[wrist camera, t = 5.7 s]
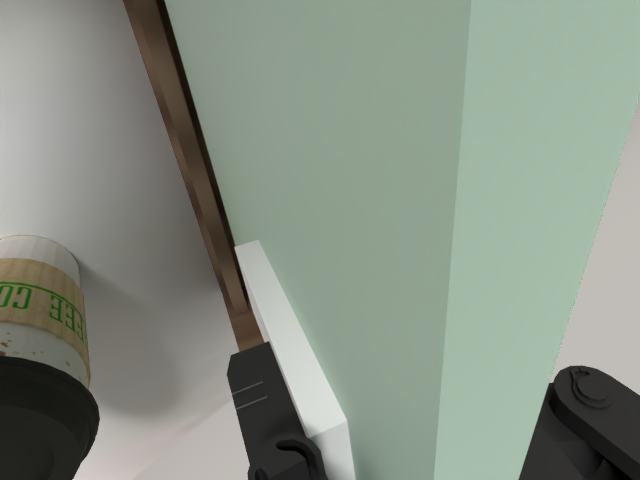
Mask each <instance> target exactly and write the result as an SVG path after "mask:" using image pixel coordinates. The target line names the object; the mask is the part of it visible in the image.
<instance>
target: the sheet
mask: <svg viewBox="0 0 640 480" xmlns="http://www.w3.org/2000/svg"><path fill="white" fill-rule="evenodd" d="M164 1H165V4H166V7H167V11H168V14H169V18H170V21H171V25H172V28H173V32H174V35H175V39H176V42H177V46H178V49H179V52H180V56H181V59H182V63H183V66H184V70H185V73H186V77H187V80H188V84H189V87H190V91H191V94H192V98H193V101H194V104H195V108H196V111H197V115H198V118H199V122H200V125H201V129H202V132H203V136H204V139H205V143H206V146H207V149H208V153H209V156H210V160H211V163H212V167H213V170H214V174H215V177H216V181H217V184H218V188H219V191H220V194H221V198H222V201H223V205H224V208H225V212H226V215H227V219H228V222H229V226H230V229H231V233H232V236H233V239H234V243H235V246H239V245H242V244H246V243H249V242H252V241H255V240H259V242H260V244H261V246H262V248H263V250H264V252H265V254H266V256H267V258H268V261H269V263H270V265H271V267H272V269H273V271H274V273H275V275H276V277H277V279H278V281H279V283H280V285H281V287H282V289H283V291H284V293H285V295H286V297H287V299H288V301H289V303H290V305H291V307H292V309H293V312H294V314H295V316H296V318H297V320H298V322H299V324H300V326H301V328H302V330H303V332H304V334H305V336H306V338H307V340H308V342H309V344H310V346H311V348H312V350H313V352H314V354H315V356H316V358H317V360H318V363H319V365H320V367H321V369H322V371H323V373H324V375H325V377H326V379H327V381H328V383H329V385H330V387H331V389H332V391H333V393H334V395H335V397H336V399H337V401H338V403H339V405H340V407H341V409H342V411H343V413H344V416H345V418H346V420H347V423H348V430H349V437H350V444H351V452H352V459H353V466H354V473H355V480H518V479H519V476H520V473H521V470H522V467H523V464H524V460H525V457H526V454H527V451H528V448H529V445H530V442H531V438H532V435H533V432H534V429H535V426H536V423H537V419H538V416H539V413H540V410H541V407H542V404H543V400H544V397H545V394H546V391H547V388H548V385H549V381H550V378H551V375H552V371H553V369H554V365H555V362H556V359H557V356H558V353H559V350H560V346H561V343H562V340H563V337H564V334H565V331H566V327H567V324H568V321H569V318H570V315H571V312H572V309H573V306H574V302H575V299H576V296H577V293H578V290H579V286H580V284H581V280H582V277H583V274H584V271H585V268H586V264H587V261H588V258H589V255H590V252H591V249H592V246H593V242H594V239H595V236H596V233H597V230H598V226H599V223H600V220H601V217H602V214H603V211H604V208H605V205H606V201H607V198H608V195H609V192H610V189H611V186H612V182H613V179H614V176H615V173H616V170H617V167H618V163H619V160H620V157H621V154H622V151H623V148H624V144H625V141H626V138H627V135H628V132H629V129H630V126H631V122H632V119H633V116H634V113H635V110H636V106H637V103H638V100H639V97H640V0H164Z"/></svg>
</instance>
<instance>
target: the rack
mask: <svg viewBox="0 0 640 480" xmlns="http://www.w3.org/2000/svg"><path fill="white" fill-rule="evenodd" d="M123 2H124V5H125V8H126V10H127V13H128V16H129V19H130V22H131V25H132V28H133V31H134V34H135V37H136V40H137V43H138V46H139V49H140V52H141V55H142V58H143V61H144V64H145V67H146V70H147V73H148V76H149V78H150V81H151V84H152V87H153V90H154V93H155V96H156V99H157V102H158V105H159V108H160V111H161V114H162V117H163V120H164V123H165V126H166V129H167V132H168V135H169V138H170V141H171V144H172V146H173V149H174V152H175V155H176V158H177V161H178V164H179V167H180V170H181V173H182V176H183V179H184V182H185V185H186V188H187V191H188V194H189V197H190V200H191V203H192V206H193V209H194V212H195V214H196V217H197V220H198V223H199V226H200V229H201V232H202V235H203V238H204V241H205V244H206V247H207V250H208V253H209V256H210V259H211V262H212V265H213V268H214V271H215V274H216V277H217V280H218V282H219V285H220V288H221V291H222V294H223V298H224V301H225V304H226V308H227V311H228V314H229V318H230V321H231V324H232V328H233V331H234V334H235V338H236V341H237V344H238V348H239V351H240V352H241V351H244V350H246V349H249V348H252V347H254V346H257V345H260V344H262V343H265V342H264V339H263V337H262V334H261V331H260V329H259V326H258V323H257V321H256V318H255V315H254V313H253V310H252V306H251V303H250V299H249V296H248V293H247V289H246V286H245V282H244V279H243V275H242V272H241V268H240V265H239V262H238V258H237V255H236V251H235V248H234V247H236V246H235V243H234V239H233V236H232V233H231V229H230V226H229V222H228V219H227V215H226V212H225V208H224V205H223V201H222V198H221V194H220V191H219V188H218V184H217V181H216V177H215V174H214V170H213V167H212V163H211V160H210V156H209V153H208V149H207V146H206V143H205V139H204V136H203V132H202V129H201V125H200V122H199V118H198V115H197V111H196V108H195V104H194V101H193V98H192V94H191V91H190V87H189V84H188V80H187V77H186V73H185V70H184V66H183V63H182V59H181V56H180V52H179V49H178V46H177V42H176V39H175V35H174V32H173V28H172V25H171V21H170V18H169V14H168V11H167V7H166V4H165V1H164V0H123Z"/></svg>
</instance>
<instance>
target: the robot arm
mask: <svg viewBox="0 0 640 480" xmlns="http://www.w3.org/2000/svg"><path fill="white" fill-rule="evenodd" d="M234 248H235V251H236V255H237V258H238V262H239V265H240V268H241V272H242V275H243V279H244V282H245V286H246V289H247V293H248V296H249V299H250V303H251V306H252V310H253V313H254V315H255V318H256V321H257V323H258V326H259V329H260V331H261V334H262V337H263V339H264V342H265V343H262V344H260V345H257V346H254V347H252V348H249V349H246V350H244V351H241V352H238V353H236V354H233V355H231V357H230V362H229V366H228V371H227V377H228V381H229V385H230V389H231V393H232V397H233V400H234V404H235V408H236V411H237V416H238V420H239V424H240V428H241V432H242V436H243V439H244V444H245V447H246V451H247V455H248V459H249V463H250V467H249V470H248V480H355V473H354V466H353V459H352V452H351V444H350V437H349V430H348V423H347V420H346V418H345V416H344V413H343V411H342V409H341V407H340V405H339V403H338V401H337V399H336V397H335V395H334V393H333V391H332V389H331V387H330V385H329V383H328V381H327V379H326V377H325V375H324V373H323V371H322V369H321V367H320V365H319V363H318V360H317V358H316V356H315V354H314V352H313V350H312V348H311V346H310V344H309V342H308V340H307V338H306V336H305V334H304V332H303V330H302V328H301V326H300V324H299V322H298V320H297V318H296V316H295V314H294V312H293V309H292V307H291V305H290V303H289V301H288V299H287V297H286V295H285V293H284V291H283V289H282V287H281V285H280V283H279V281H278V279H277V277H276V275H275V273H274V271H273V269H272V267H271V265H270V263H269V261H268V258H267V256H266V254H265V252H264V250H263V248H262V246H261V244H260V242H259V240H255V241H252V242H249V243H246V244H242V245H239V246H236V247H234ZM518 480H640V395H638V394H636V393H635V392H634V391H632V390H631V389H629V388H628V387H626V386H624V385H623V384H622V383H620V382H618V381H617V380H616V379H614V378H613V377H611V376H609V375H608V374H606V373H604V372H602V371H600V370H598V369H594V368H591V367H586V366H569V367H567V368H565V369H562V370H560V372H559V373H558V374H557V376H556V377H555V379H554V382H553V383H549V385H548V388H547V391H546V394H545V397H544V400H543V404H542V407H541V410H540V413H539V416H538V419H537V423H536V426H535V429H534V432H533V435H532V438H531V442H530V445H529V448H528V451H527V454H526V457H525V460H524V464H523V467H522V470H521V473H520V476H519V479H518Z"/></svg>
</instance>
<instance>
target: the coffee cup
mask: <svg viewBox="0 0 640 480" xmlns="http://www.w3.org/2000/svg"><path fill="white" fill-rule="evenodd" d="M89 383H90V366H89V355H88V344H87V333H86V322H85V311H84V301H83V295H82V293H81V288H80V275H79V267H78V264H77V262H76V260H75V258H74V257H73V256H72V254H71V253H70V252H69V251H68V250H67V249H65V248H64V247H63V246H61V245H59V244H58V243H56V242H54V241H51V240H49V239H46V238H42V237H38V236H29V235H19V236H11V237H6V238H3V239H0V480H72V479H73V478H74V476H75V474H76V472H77V470H78V468H79V466H80V463H81V462H82V461H83V460H84V459H85V457H86V456H87V455H88V453H89V451H90V449H91V447H92V445H93V443H94V441H95V437H96V435H97V431H98V426H99V420H100V417H99V410H98V405H97V403H96V401H95V399H94V397H93V395H92V394H91V392H90V391H89V390H88V388H89Z"/></svg>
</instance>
